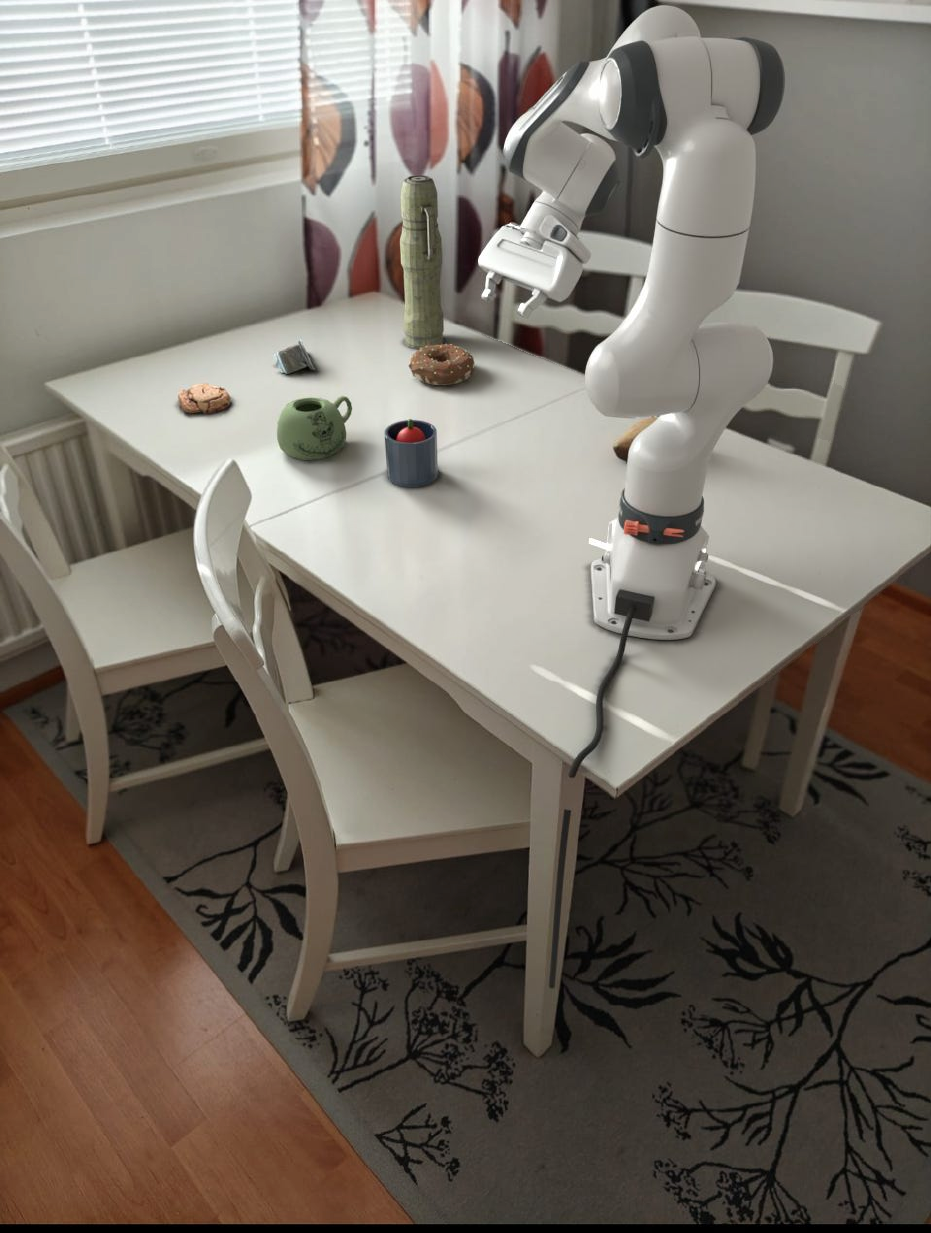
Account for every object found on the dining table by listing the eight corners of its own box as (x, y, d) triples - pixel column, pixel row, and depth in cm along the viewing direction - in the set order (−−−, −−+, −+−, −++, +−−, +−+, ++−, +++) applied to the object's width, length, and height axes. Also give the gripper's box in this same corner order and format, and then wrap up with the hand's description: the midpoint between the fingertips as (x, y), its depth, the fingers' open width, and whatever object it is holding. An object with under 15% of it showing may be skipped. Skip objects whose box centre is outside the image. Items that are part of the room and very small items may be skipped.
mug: (305, 471, 179) (300, 427, 173) (264, 447, 186) (258, 404, 181) (374, 442, 187) (371, 399, 182) (332, 420, 195) (328, 378, 189)
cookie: (226, 414, 197) (223, 400, 195) (172, 414, 197) (169, 400, 195) (236, 393, 205) (234, 379, 203) (185, 392, 205) (182, 379, 203)
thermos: (427, 329, 231) (421, 168, 210) (454, 345, 223) (452, 180, 202) (394, 337, 227) (385, 174, 206) (421, 354, 220) (414, 187, 198)
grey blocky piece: (273, 356, 220) (263, 335, 208) (303, 344, 221) (294, 322, 209) (290, 394, 219) (281, 375, 208) (320, 382, 220) (312, 362, 208)
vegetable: (645, 469, 172) (634, 411, 170) (606, 473, 182) (596, 418, 180) (712, 450, 179) (703, 395, 177) (671, 455, 189) (662, 402, 187)
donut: (412, 362, 217) (411, 340, 213) (475, 362, 216) (475, 340, 213) (406, 390, 205) (405, 367, 202) (473, 391, 205) (473, 368, 202)
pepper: (422, 480, 175) (420, 427, 168) (394, 477, 176) (391, 424, 169) (430, 466, 179) (429, 414, 172) (403, 463, 180) (400, 411, 173)
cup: (429, 490, 173) (428, 446, 168) (380, 484, 175) (377, 440, 170) (443, 465, 180) (442, 422, 175) (396, 459, 182) (393, 417, 177)
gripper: (495, 209, 169) (454, 282, 171) (578, 237, 156) (532, 315, 158) (516, 230, 174) (476, 300, 175) (598, 257, 161) (554, 333, 162)
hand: (503, 308), depth 166 cm, fingers open, 8 cm apart
